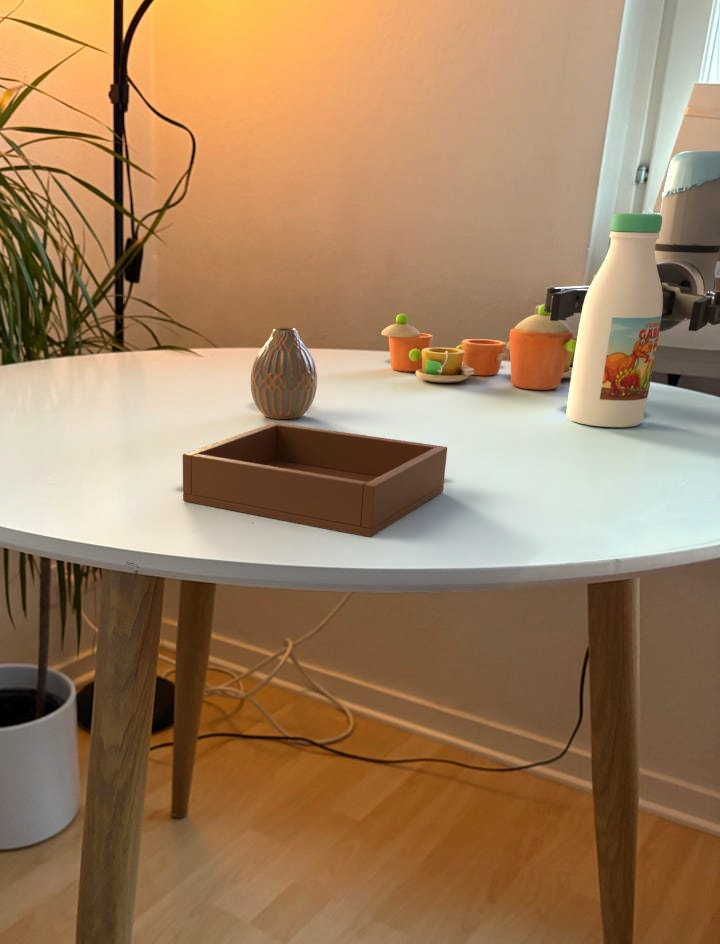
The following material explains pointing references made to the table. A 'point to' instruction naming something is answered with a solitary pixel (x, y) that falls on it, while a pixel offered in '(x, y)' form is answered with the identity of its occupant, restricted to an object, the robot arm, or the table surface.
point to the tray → (315, 477)
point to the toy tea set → (488, 353)
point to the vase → (284, 376)
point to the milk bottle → (619, 328)
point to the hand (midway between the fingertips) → (622, 311)
